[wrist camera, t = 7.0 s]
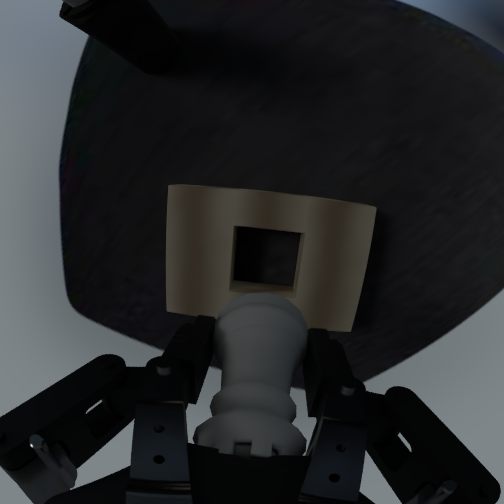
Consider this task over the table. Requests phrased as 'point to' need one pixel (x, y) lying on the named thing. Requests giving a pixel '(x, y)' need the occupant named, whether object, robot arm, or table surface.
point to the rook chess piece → (256, 378)
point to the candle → (125, 29)
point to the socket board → (268, 217)
